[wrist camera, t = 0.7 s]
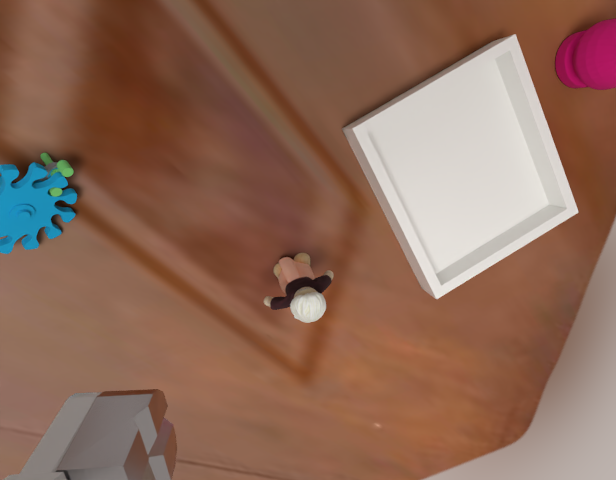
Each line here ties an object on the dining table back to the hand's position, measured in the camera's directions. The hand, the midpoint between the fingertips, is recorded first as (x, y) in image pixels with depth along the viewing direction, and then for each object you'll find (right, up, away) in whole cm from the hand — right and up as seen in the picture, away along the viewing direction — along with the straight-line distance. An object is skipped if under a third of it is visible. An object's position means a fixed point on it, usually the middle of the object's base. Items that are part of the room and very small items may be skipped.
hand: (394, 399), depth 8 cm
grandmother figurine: (-4, -1, +46) cm, 46 cm away
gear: (-29, +7, +39) cm, 49 cm away
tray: (+16, +11, +47) cm, 51 cm away
